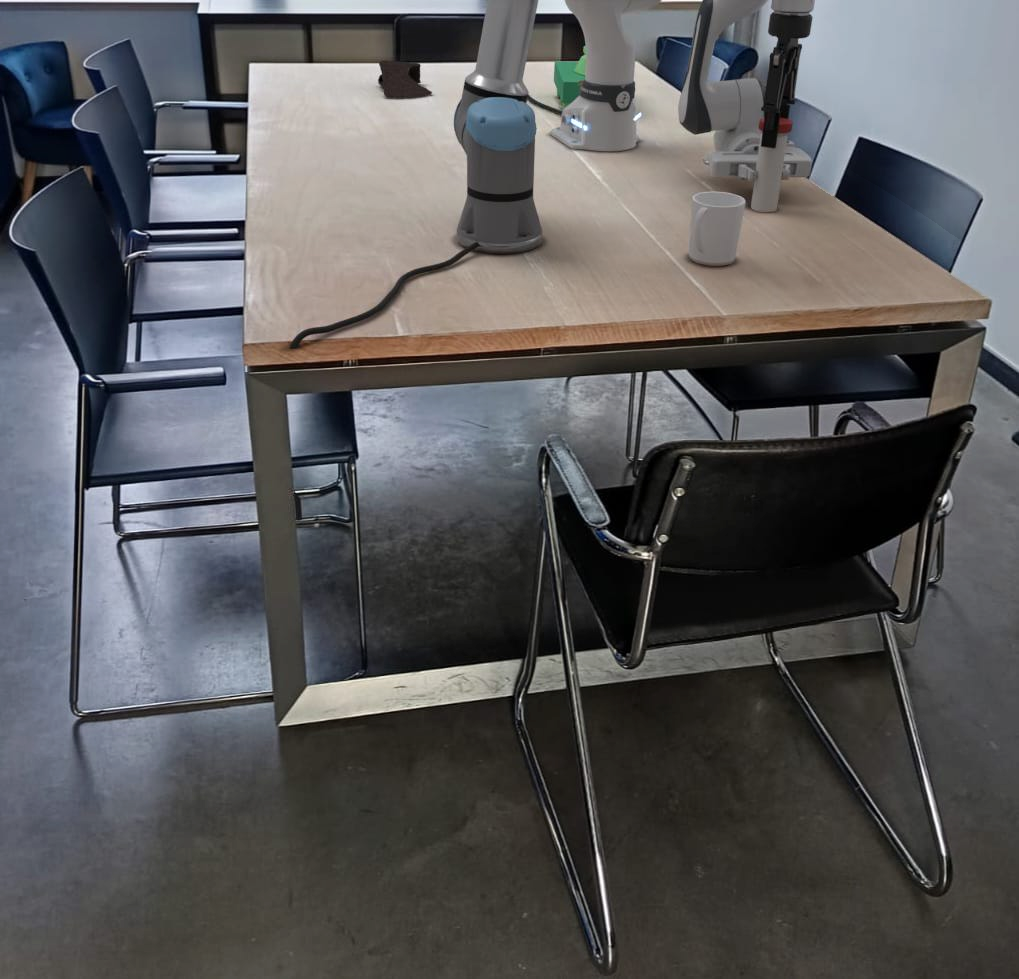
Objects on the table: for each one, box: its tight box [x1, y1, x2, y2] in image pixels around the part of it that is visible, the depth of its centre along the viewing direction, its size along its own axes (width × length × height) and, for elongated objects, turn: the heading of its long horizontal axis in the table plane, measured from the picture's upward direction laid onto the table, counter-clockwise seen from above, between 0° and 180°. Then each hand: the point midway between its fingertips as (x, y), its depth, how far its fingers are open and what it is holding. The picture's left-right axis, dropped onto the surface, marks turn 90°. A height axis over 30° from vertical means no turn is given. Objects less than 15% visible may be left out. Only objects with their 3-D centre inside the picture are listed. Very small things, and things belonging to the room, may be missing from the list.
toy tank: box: [553, 45, 586, 111], centre depth 289 cm, size 18×12×35 cm
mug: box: [687, 191, 747, 267], centre depth 186 cm, size 11×9×10 cm
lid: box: [759, 118, 793, 134], centre depth 207 cm, size 6×6×2 cm
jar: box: [750, 131, 789, 213], centre depth 211 cm, size 5×5×16 cm
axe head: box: [377, 59, 433, 99], centre depth 299 cm, size 18×8×15 cm
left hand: (773, 143), depth 209 cm, fingers closed on lid, 6 cm apart
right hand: (770, 175), depth 211 cm, fingers closed on jar, 5 cm apart
